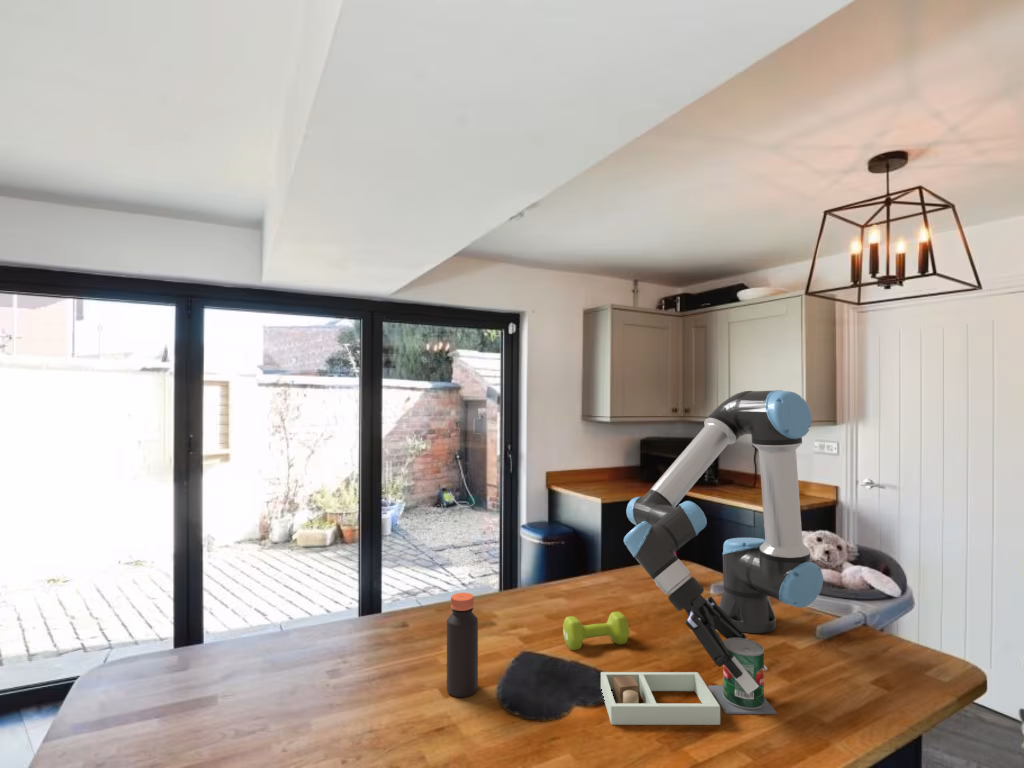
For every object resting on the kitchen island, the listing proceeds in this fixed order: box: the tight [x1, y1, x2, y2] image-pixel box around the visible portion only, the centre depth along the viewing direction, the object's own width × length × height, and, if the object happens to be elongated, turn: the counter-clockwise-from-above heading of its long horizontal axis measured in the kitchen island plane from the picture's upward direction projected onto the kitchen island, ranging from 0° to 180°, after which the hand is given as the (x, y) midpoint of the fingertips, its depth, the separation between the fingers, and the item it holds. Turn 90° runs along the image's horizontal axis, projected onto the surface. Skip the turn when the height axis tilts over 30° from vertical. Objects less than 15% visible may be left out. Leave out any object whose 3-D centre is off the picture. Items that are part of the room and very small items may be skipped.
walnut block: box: [612, 676, 640, 703], centre depth 114 cm, size 4×4×4 cm
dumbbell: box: [562, 611, 630, 651], centre depth 140 cm, size 16×8×7 cm, turn 103°
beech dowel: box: [623, 690, 638, 703], centre depth 109 cm, size 3×3×4 cm
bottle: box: [446, 592, 479, 698], centre depth 118 cm, size 7×7×20 cm
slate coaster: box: [707, 684, 778, 715], centre depth 114 cm, size 10×10×1 cm
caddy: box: [600, 671, 721, 726], centre depth 112 cm, size 21×13×4 cm, turn 90°
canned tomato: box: [722, 638, 765, 710], centre depth 114 cm, size 8×8×11 cm
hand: (757, 680), depth 112 cm, fingers closed on canned tomato, 8 cm apart
